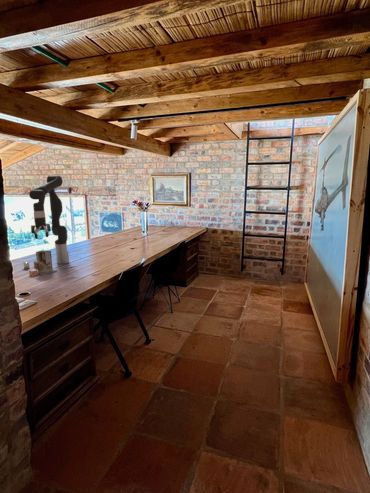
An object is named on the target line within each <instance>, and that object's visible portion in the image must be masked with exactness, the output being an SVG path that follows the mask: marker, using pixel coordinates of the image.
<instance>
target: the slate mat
mask: <svg viewBox="0 0 370 493" xmlns="http://www.w3.org/2000/svg"><path fill="white" fill-rule="evenodd" d="M57 272H58V270H55V269H53V271H50V272H48V273H46V272H38V270H37V273H38V275H40V276H46V275H51V274H53V273H57Z"/></svg>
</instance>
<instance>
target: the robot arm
mask: <svg viewBox="0 0 370 493" xmlns="http://www.w3.org/2000/svg"><path fill="white" fill-rule="evenodd" d="M63 183H64V182H63V178H62V176H60V175H56V174H55V175H48V176H47V177H46V182H45V183H43V184H41V185H39V186H38V187H35V188H32V189H31V190H30V191H29V193H28V194H29V195H28V196H29V198H30V199H31V200H38V202H35V203H33V206H32V207H33V220H34V225H33V224H32V225H30V233H31V234H33V236H34V238H35V240H38V239H39V235H38V233H39V232H40V231H44V232H45V238H49V236H50V234H49V232H51V231H52V234H53V235H54V236H56V237H57V239H56V240H55V241H54V247H55V256H56V258H55V260H56V264H60V265H61V264H67V263H69V262H70V259H69V258H70V256H69V251H68V244H67V241H68V230H67V228H66V226H65V225H61V221H60V218H61V215H62V213H63V203H62V200H61V198H60V197H59V196H58V194H57V193H56V190H55V189H57V188H60V187H62V186H63ZM47 194H48V196H49V205H50V206H49V207H50V213H51V223H47V221H46V213H45V201H46V195H47ZM50 224H51V225H50Z"/></svg>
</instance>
